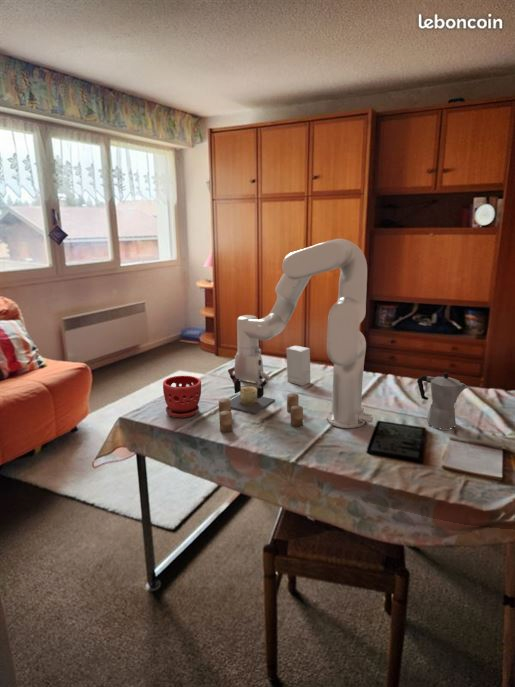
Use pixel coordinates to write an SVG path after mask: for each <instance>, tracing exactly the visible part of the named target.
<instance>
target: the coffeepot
mask: <svg viewBox="0 0 515 687" xmlns="http://www.w3.org/2000/svg"><path fill="white" fill-rule="evenodd" d="M449 375H450V372H443V376H435V377H434V376H430V375H421V376H420V377H418V378H417V380H416V382H417V383H416V384H417V387H418V390H419V394H420V397H421V399H422V400H425V401H427V400H429V397H428V396H426V395H425V392H426V391H425V389H424V388H425V387H424V383H423V382H426V383H429V384H430V391H431V392H430V393H431V400H432V402H431V403H430V407H429V411H428V414H427V417H426V423H427V422H428V424H429V425H431V426H433V427H435V428H434V429H436V428H441V429H450V428H452V427H454V426H456V427H457V424H456V423H457V422H456V410H455V404H456V403H457V399H458V397H459V396H460V394H461V393H462V392H463V391H464V390H465V389H468V386H467V384H465V383H462V382H460V380H458V379H456V378H452V377H449ZM428 424H427V425H428ZM429 425H428V426H429ZM431 426H430V427H431ZM433 427H432V428H433Z"/></svg>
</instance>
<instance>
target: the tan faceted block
mask: <svg viewBox="0 0 515 687" xmlns="http://www.w3.org/2000/svg"><path fill="white" fill-rule="evenodd" d="M239 395H240V402H241V403H242V404H244V405H254V404H255V403H257V402H258V398H257V388H256V387H254V386H244V387H241V389H240V392H239Z"/></svg>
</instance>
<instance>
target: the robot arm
mask: <svg viewBox="0 0 515 687" xmlns="http://www.w3.org/2000/svg"><path fill="white" fill-rule="evenodd" d="M281 266H282V272H283V273H282V275H281V276H280V279H279V281H278V282H277V284H276V286H275V288H274V290H275V294H276V301H275V303H274V305H273V307H272V309H271V310H270V312H269V314H268V315H266V316H264V317H262V318H259V319H258V317H257V316H255V315H252V314H244V315H240V316H238V318H237V319H236V331H237V332H236V333H237V336H236V338H237V340H236V341H237V352H236V354H235V355H236V358H235V357H234V367H231V368H229V369H228V370H227V372H228V374H229V377H230V379H231V380H232V383H233V387H234V388H233V389H234V394H238V393H240V389H242V387H241V386H242V384H241V381H242V380H244V382H251V383H255V384H256V386H257V388H256V389H257V398H261V397H264V395H265V392H264V390H265V388H264V387H265V386H266V385H267V384H268V383H269V381H270V379H271V376H270V375H269V374H267V373H266V372H264V363H263V358H262V354H261V353H262V348H260V346H259V341H263V342H265V341H270V340H271V339H273V338H274V337H276V336H278V335H279V334H281V333H282V332H283V331H284V329H285V328H286V326H287V324H288V323H289V321H290V320H291V318H292V316H293V314H294V312H295V309H296V307H297V304H298V302H299V299H300V297H301V295H302V294H303V292H304V290H305V288H306V287H307V285H308V283H309V281H310V280H311V278H312V276H316V275H319V274H322V273H325V272H331V271H334V270H336V269H339V272H340V273H339V280H338V294H337V301H336V302H335V303H334V304H333V305H332V306H331V307H330V309H329V311H328V317H327V329H326V330H327V331H326V332H327V333H326V354H327V357H328V359H329V360H330V361H331V363H333V374H332V377H333V378H332V399H331V400H332V402H331V403H332V404H331V411H330V412H328V413H327V415H326V421H327V422H328V423H330V424H331V425H332V426H335V427H337V428H342V429H357V428H359V427H362V426H363V425H364V424H365V423H373V421H374V416H372V414H371V413H367V412H364V407H362V396H363V380H364V379H363V378H364V365H365V357H366V350H367V349H366V348H367V341H366V337H365V336H364V334H363V333H362V332H361V331H360V324H361V323H362V322H363V321H364V319H365V318H366V311H367V310H366V309H367V308H366V307H367V306H366V305H367V289H368V288H367V287H368V286H367V283H368V264H367V259H366V256H365V253H364V252H363V251H362V248H360V246H358V245H357V244H355V243H354V242H352V241H350V240H349V239H344V238H334V239H332V240H331V239H330V240H326V241H323V242H320V243H317V244H315V245H312V246H308V247H305V248H303V249H299V250H296V251H292V252H289V253H288V254H287V255H286V256H285V257H284V258H283V261H282V265H281ZM356 427H357V428H356Z"/></svg>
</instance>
